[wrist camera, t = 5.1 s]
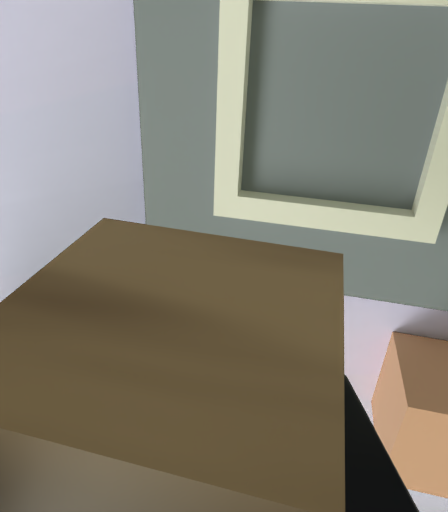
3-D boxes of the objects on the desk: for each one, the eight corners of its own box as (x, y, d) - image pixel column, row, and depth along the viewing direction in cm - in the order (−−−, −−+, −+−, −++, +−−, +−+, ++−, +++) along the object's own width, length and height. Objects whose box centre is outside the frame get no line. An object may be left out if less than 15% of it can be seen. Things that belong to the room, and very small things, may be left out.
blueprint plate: (484, 303, 19) (500, 329, 17) (156, 254, 22) (142, 272, 20) (686, -177, 11) (749, -214, 10) (138, -156, 14) (112, -182, 12)
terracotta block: (466, 419, 22) (498, 510, 18) (371, 400, 23) (379, 482, 19) (499, 348, 20) (545, 434, 16) (392, 330, 21) (407, 406, 17)
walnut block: (306, 426, 10) (282, 704, 6) (122, 384, 11) (-8, 599, 7) (343, 253, 8) (345, 521, 4) (103, 218, 9) (-116, 397, 5)
